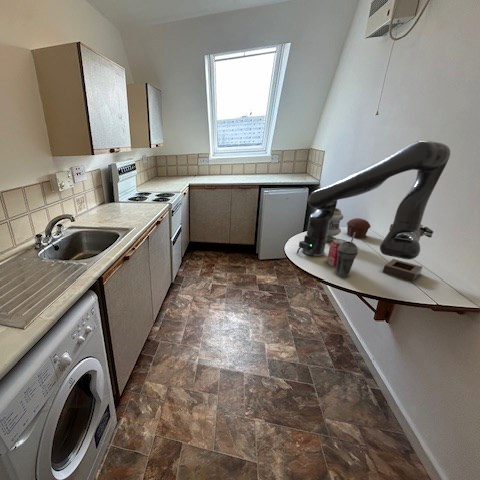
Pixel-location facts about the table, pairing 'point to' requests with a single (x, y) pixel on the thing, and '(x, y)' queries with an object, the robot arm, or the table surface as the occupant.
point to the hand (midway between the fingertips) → (413, 225)
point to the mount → (402, 269)
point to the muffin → (357, 227)
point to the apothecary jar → (334, 225)
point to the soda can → (334, 252)
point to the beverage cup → (346, 257)
